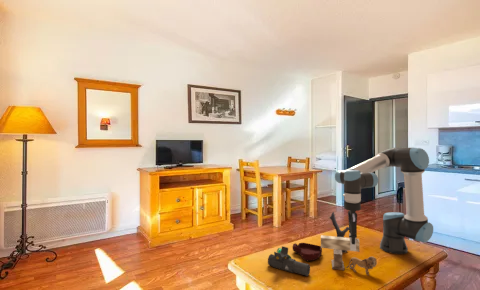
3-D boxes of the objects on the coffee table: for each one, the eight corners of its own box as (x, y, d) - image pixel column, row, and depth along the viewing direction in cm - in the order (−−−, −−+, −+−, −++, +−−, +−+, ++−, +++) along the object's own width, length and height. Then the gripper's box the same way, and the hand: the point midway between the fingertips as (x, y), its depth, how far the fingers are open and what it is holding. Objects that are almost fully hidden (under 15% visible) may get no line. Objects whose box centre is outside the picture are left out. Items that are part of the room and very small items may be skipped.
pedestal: (342, 263, 150) (343, 248, 150) (344, 270, 141) (344, 255, 141) (331, 261, 152) (331, 247, 152) (332, 268, 143) (332, 253, 143)
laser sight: (304, 280, 131) (304, 260, 131) (264, 268, 144) (264, 249, 144) (311, 272, 139) (311, 253, 139) (272, 261, 152) (272, 244, 152)
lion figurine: (376, 272, 139) (376, 255, 139) (376, 277, 134) (376, 259, 134) (346, 266, 146) (346, 250, 146) (345, 270, 141) (345, 253, 141)
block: (358, 248, 134) (358, 238, 134) (359, 251, 130) (359, 241, 130) (320, 244, 140) (320, 235, 140) (320, 247, 136) (320, 237, 136)
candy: (292, 259, 153) (288, 254, 152) (288, 263, 152) (284, 258, 151) (283, 251, 164) (279, 246, 164) (279, 255, 164) (275, 249, 163)
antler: (342, 247, 172) (342, 208, 171) (351, 252, 164) (351, 211, 164) (327, 250, 168) (327, 210, 168) (335, 255, 160) (335, 213, 160)
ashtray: (330, 260, 154) (330, 251, 154) (305, 264, 149) (305, 255, 149) (313, 248, 171) (313, 240, 171) (290, 251, 166) (290, 243, 166)
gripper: (342, 197, 142) (343, 241, 142) (345, 204, 126) (346, 254, 126) (358, 198, 140) (358, 242, 140) (363, 205, 124) (363, 256, 124)
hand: (352, 248), depth 133 cm, fingers closed on block, 4 cm apart
